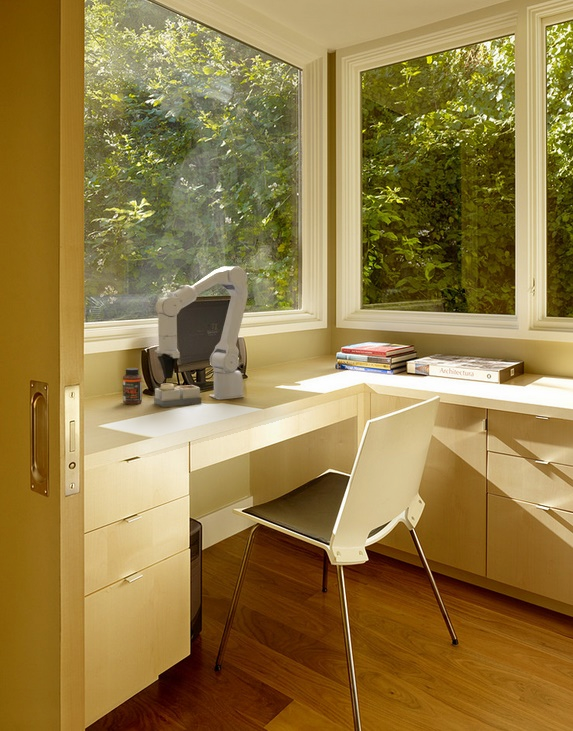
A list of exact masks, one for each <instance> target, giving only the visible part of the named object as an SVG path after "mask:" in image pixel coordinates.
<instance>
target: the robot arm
mask: <svg viewBox="0 0 573 731" xmlns="http://www.w3.org/2000/svg"><path fill="white" fill-rule="evenodd" d="M247 282H248V275H247V273H246V271H245V270H244V269H243V268H242V267H241V266H239V265H237V266H221V267H219V268H217V269H214V270H213V271H212V272H210V273H208V274H207V275H206V276H204V277H203V278H201V279H200V280H199V281H196V282H195V283H194V284H192V285H189V284H181V285H179V286H178V287H179V288H178V289H177V290H175V291H173V292H169V293H168V294H167V297H161V298H158V299H157V302H156V303H155V306H154V310H155V312H156V313H157V321H158V322H157V324H158V325H157V327H158V331H157V332H158V346H157V347H156V349H154V352H155V353H157V354H161V355H158V356H157V359H158V361H159V363H160V366H161V368H162V373H163V376H164V379H173V376H174V371H175V367H176V365H177V362H178V361H179V359H180V357H181V354H180V351H179V350H178V324H177V323H178V322H177V321H178V320H177V315H178V314H179V313H180V311H181V310H182V309H183V308H185V307H187V306H188V305H190V304H191V303H193V302H195V301H196V300H197V297H198V295H199V294H200V293H201V294H202V293H203V292H205V291H207V290H209V289H210V288H212V287H214V286H216V285H220V286H222V288H224V289H225V290H227V291H226V292H228V294H229V295H230V300H229V304H228V308H227V311H226V316H225V321H224V323H223V324H224V325H223V327H222V328H223V329H222V332H221V336H220V340H219V342H218V343H217V344H216V345H215V346H214V350H213V351H212V353H211V354H210V356H209V364H210V365H211V368H213V369H212V370H213V394H212V393H211V394H209V397H210V398H213V399H216V400H218V401H221V400H230V399H239V398H245V396H244V390H243V389H244V387H243V386H244V384H243V383H244V382H243V381H244V378H243V373H242V372H241V371H240V370H237V369H238V367H239V363H240V360H239V354H240V350H239V348H238V346H237V342H238V338H239V334H240V330H241V327H242V322H243V317H244V313H245V309H246V305H247V301H248V296H249V291H248V284H247Z"/></svg>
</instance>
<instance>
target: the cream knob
mask: <svg viewBox="0 0 573 731" xmlns="http://www.w3.org/2000/svg"><path fill="white" fill-rule="evenodd" d="M160 388H161V390H162V391H168V390H174V388H175V387H174V384H173V383H171V382H170V383H167V382H166V383H161V384H160Z"/></svg>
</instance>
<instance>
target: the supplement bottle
mask: <svg viewBox="0 0 573 731" xmlns="http://www.w3.org/2000/svg"><path fill="white" fill-rule="evenodd" d="M142 378H143V377H142V376H141V375H140V373H139V368H137V367H128V368H125V375H123V376H122V403H123V404H125V405H130V406H131V405H139V404H142V401H143V393H142V392H143V387H142V386H143V384H142V382H143V381H142Z"/></svg>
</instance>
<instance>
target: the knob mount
mask: <svg viewBox="0 0 573 731" xmlns="http://www.w3.org/2000/svg"><path fill="white" fill-rule="evenodd" d="M153 403H154V404H155V405H157V406H159V407H161V408H172V407H180V406H189V405H199V404H200V405H201V404H202V397H201V387H199V386H197V385H194V384H190V385H188V384H187V385H178V386H175V387H174V390H168V391H162V390H161V387H157V388H154V397H153Z"/></svg>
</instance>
